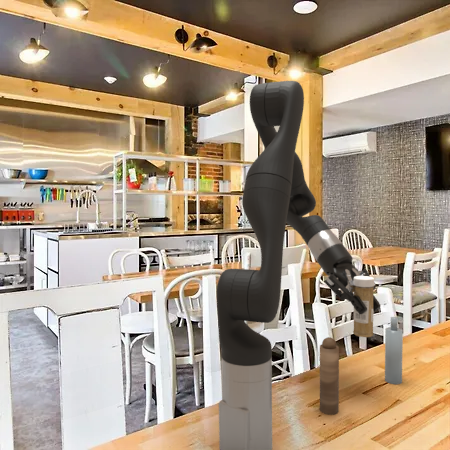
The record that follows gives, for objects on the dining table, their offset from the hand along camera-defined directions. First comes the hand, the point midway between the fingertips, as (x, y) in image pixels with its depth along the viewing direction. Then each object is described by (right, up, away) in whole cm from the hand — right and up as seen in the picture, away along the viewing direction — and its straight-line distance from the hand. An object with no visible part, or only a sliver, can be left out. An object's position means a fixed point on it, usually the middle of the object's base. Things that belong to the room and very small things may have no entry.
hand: (370, 310), depth 97 cm
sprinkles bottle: (-1, -6, +2) cm, 7 cm away
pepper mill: (-10, -21, -4) cm, 24 cm away
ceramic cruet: (+9, -20, +10) cm, 24 cm away
